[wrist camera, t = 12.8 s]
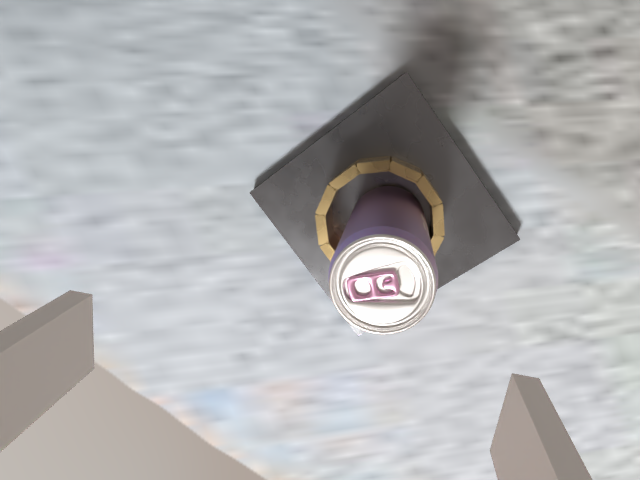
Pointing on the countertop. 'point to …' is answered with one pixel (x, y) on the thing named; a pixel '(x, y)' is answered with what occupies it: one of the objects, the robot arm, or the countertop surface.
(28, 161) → the countertop surface
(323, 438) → the countertop surface
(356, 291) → the beverage can
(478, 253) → the pipe socket
